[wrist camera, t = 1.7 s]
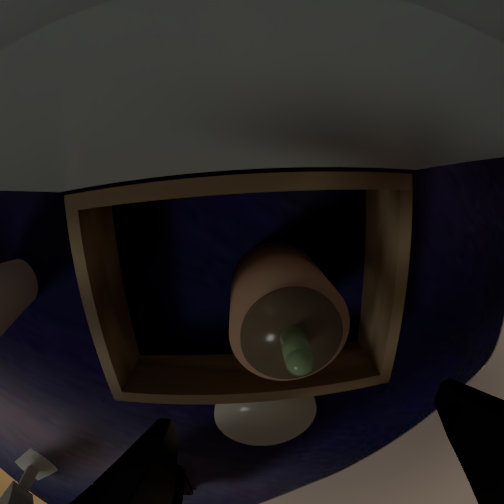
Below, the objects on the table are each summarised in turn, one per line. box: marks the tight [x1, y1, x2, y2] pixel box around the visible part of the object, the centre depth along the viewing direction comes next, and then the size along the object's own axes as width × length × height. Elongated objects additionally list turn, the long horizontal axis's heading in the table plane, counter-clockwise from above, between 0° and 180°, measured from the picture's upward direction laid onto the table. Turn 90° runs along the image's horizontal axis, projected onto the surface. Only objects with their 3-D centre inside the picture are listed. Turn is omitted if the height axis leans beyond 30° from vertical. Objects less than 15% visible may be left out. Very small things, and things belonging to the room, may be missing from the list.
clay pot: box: [229, 241, 350, 381], centre depth 15 cm, size 6×6×9 cm
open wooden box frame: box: [64, 172, 412, 404], centre depth 13 cm, size 16×18×12 cm
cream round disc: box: [214, 396, 316, 446], centre depth 22 cm, size 8×8×1 cm
